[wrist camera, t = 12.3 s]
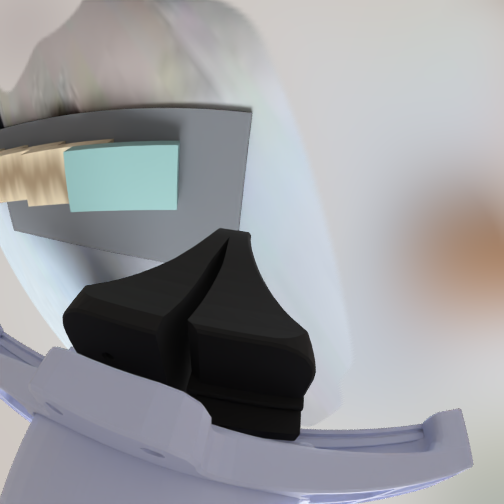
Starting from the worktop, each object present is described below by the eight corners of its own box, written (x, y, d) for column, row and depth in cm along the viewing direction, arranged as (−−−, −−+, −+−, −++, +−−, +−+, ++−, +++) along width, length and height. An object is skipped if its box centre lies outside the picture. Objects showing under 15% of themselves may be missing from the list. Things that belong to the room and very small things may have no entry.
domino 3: (176, 209, 20) (70, 212, 18) (178, 200, 22) (78, 203, 20) (178, 145, 17) (63, 151, 15) (179, 140, 19) (72, 146, 17)
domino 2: (111, 201, 20) (28, 206, 18) (116, 193, 22) (37, 198, 20) (107, 142, 18) (20, 154, 16) (113, 138, 19) (30, 149, 17)
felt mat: (234, 272, 25) (233, 274, 25) (15, 228, 26) (14, 230, 26) (252, 112, 18) (251, 113, 17) (-1, 129, 19) (-3, 130, 19)
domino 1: (62, 196, 21) (0, 202, 19) (70, 189, 22) (8, 195, 20) (57, 145, 18) (-8, 158, 16) (65, 140, 19) (1, 153, 17)
